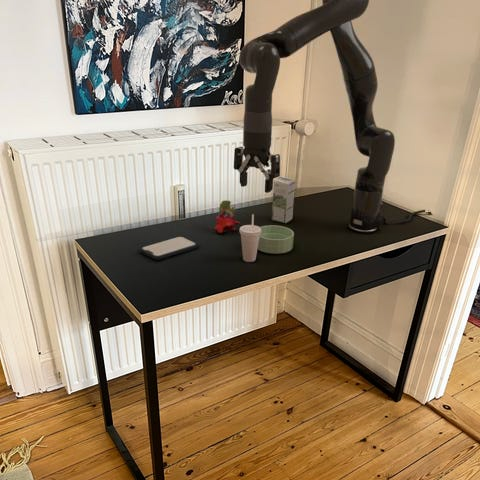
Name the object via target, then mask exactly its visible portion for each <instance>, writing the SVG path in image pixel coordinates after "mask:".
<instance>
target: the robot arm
mask: <svg viewBox="0 0 480 480" xmlns="http://www.w3.org/2000/svg"><path fill="white" fill-rule="evenodd" d="M321 3H322V5H320V6H317V7H316V8H313V9H311V10H308V11H306V12H303V13H301V14H299V15H297V16H294V17H293V18H291V19H289V20H288V21H286V22H284V23H283V24H282V25H280V26H279V27H278V28H276V29H274V30H272V31H269V32H267V33H265V34H262V35H260V36H257V37H255V38H253V39H251V40H249V41H247V43H246V44H244V45H243V47H242V49H241V50H240V53H239V65H240V66H241V68H242V69H243V70H244V71H245V72H247V73H250V74H255V78H254V81H253V84H249V85H247V86H246V88H245V91H244V113H243V128H242V131H243V132H242V146H238V147H235V148H234V149H233V150H234V152H233V154H234V155H233V169H234V170H237V171H238V173H239V184H240V187H243V188H244V187H246V186H248V170H249V168H255V169H258V170H260V172H261V173H262V174H263V175H264V178H265V179H264V193H266V194H268V193H271V192H272V191H273V188H274V180H275V179H277V178H279V177H281V154H279V153H277V154H272V153H271V147H272V133H273V132H272V131H273V111H272V110H273V93H274V89H275V86H276V82H277V79H278V75H279V71H280V67H281V59H287V58H289V57H291V56H292V55H294V54H295V53H297V52H298V51H300V50H301V49H303V48H304V47H306V46H307V45H309V44H310V43H312V42H313V41H314V40H316V39H318V38H319V37H321V36H323V35H324V34H326V33H329V32H330V36H331V38H332V41H333V44H334V48H335V52H336V55H337V59H338V62H339V66H340V70H341V75H342V80H343V85H344V88H345V89H344V90H345V92H346V96H347V100H348V104H349V109H350V113H351V117H352V125H353V133H354V140H355V144H356V149H357V151H358V152H359V153H360V155H363V156H365V157H368V161H367V165H366V166H363V167H360V168H358V169H357V171H356V177H355V185H354V192H353V197H352V205H351V211H350V219H349V223H348V229H350V230H351V231H354V232H356V233H359V234H360V233H361V234H372V233H375V232H376V231H379V230H380V224H381V223H383V224H384V225H400V224H405V223H407V222H410V221H411V220H412V217H413V216H414V215H418V214H422V213H425V214H428V215H430V216H431V215H433V213H432V212H431V211H430V212H425V210H426V209H420V210H416V211H414V212H413V211H412V212H411V213H409V215H408V217H407V218H405V219H403V220H399V221H392V222H391V221H387V217H386V216H385V215H384V214H383V207H384V202H382V199H383V195H384V187H385V181H386V177H387V175H388V173H389V171H390V168H391V164H392V160H393V156H394V151H395V143H396V141H395V140H396V139H395V138H396V137H395V135H394V132H392V131H391V130H389V129H386V128H382V127H379V126H377V124H376V121H375V117H374V112H373V111H374V110H373V108H374V102H375V99H376V96H377V92H378V87H379V86H378V84H379V83H378V77H377V71H376V66H375V63H374V60H373V57H372V56H371V54H370V52H369V51H368V49H366V47H365V46H364V45H363V42H362V41H361V40H360V38H358V35H357V34H356V32H355V29H354V25H353V22H352V21H355V20H357V19H359V18H361V17H362V16H363V15H364V13H365V12H366V11H367V8H368V6H369V3H370V0H321Z"/></svg>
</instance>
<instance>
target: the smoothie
mask: <svg viewBox="0 0 480 480" xmlns="http://www.w3.org/2000/svg"><path fill="white" fill-rule="evenodd" d="M254 221H255V214H253V213H251V224H246V225H245V224H244V225H242V226H240V227H239V233H240V240H241V250H242V260H243V261H244V262H246V263H252V262H255V261H256V259H257V254H258V249H257V248H258V243H259V237H260V234H261V228H260V227H261V226H258V225H255V224H254Z"/></svg>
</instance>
